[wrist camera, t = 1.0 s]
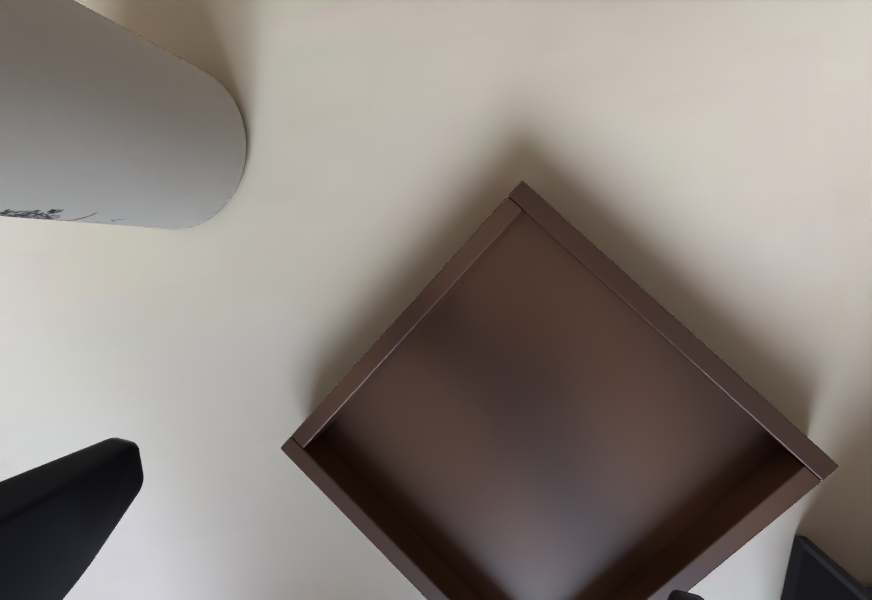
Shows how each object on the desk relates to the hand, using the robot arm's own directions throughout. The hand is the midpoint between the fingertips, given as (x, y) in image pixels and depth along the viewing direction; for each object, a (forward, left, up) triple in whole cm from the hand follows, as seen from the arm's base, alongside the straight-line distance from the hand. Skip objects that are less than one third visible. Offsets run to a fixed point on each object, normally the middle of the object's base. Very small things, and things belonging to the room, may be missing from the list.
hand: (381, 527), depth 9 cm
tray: (-1, -4, -16) cm, 17 cm away
